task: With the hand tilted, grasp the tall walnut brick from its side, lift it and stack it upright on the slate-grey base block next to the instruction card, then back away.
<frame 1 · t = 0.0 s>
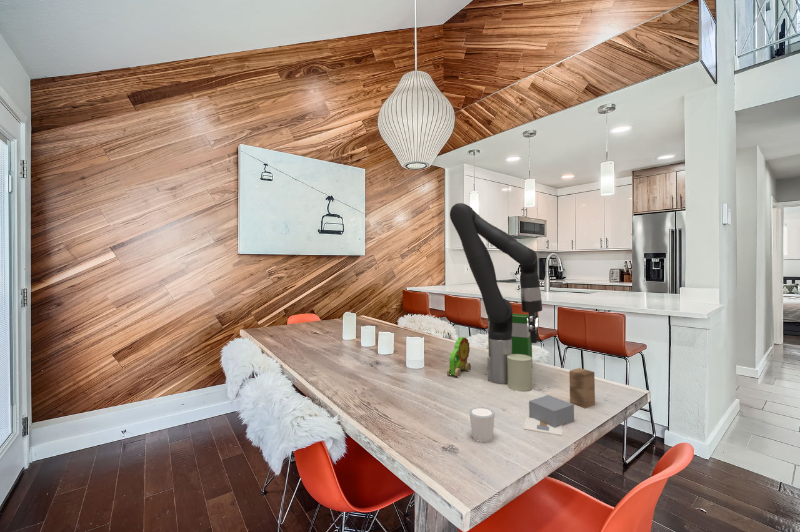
hand: (534, 340, 138), 17 cm above the table, tool pointing down, fingers open, 8 cm apart
can: (519, 387, 135), on the table
walnut brick: (582, 403, 118), on the table
shot glass: (482, 437, 98), on the table
toy lion: (460, 373, 155), on the table
instruction card: (543, 426, 103), on the table
green banded block: (510, 367, 161), on the table
base block: (551, 418, 108), on the table
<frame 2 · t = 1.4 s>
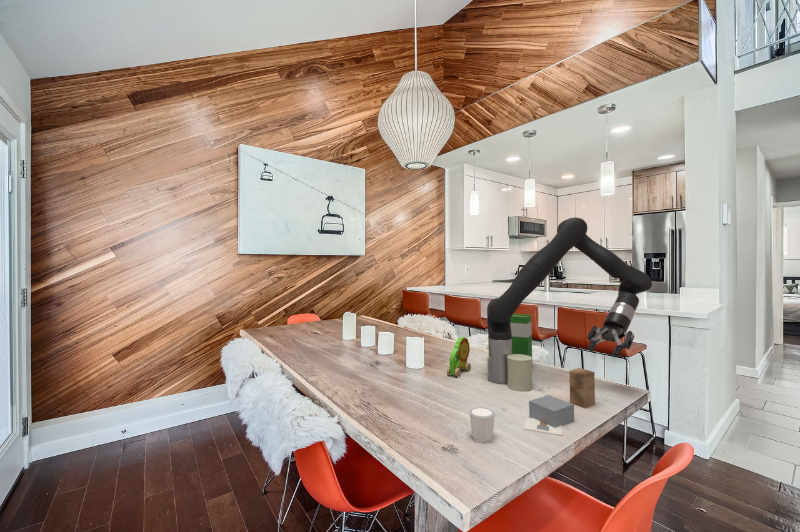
hand: (601, 353, 124), 15 cm above the table, tool tilted 45°, fingers open, 8 cm apart
nothing on the table moved.
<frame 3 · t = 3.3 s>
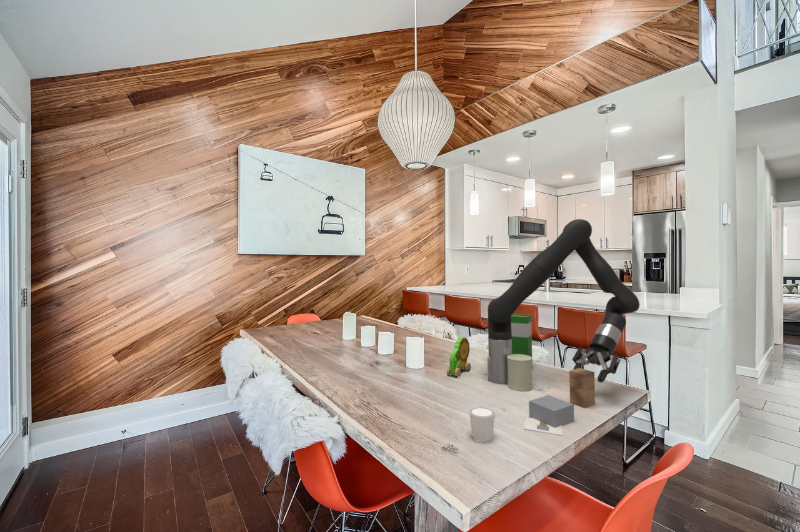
hand: (586, 377, 120), 8 cm above the table, tool tilted 45°, fingers open, 8 cm apart
nothing on the table moved.
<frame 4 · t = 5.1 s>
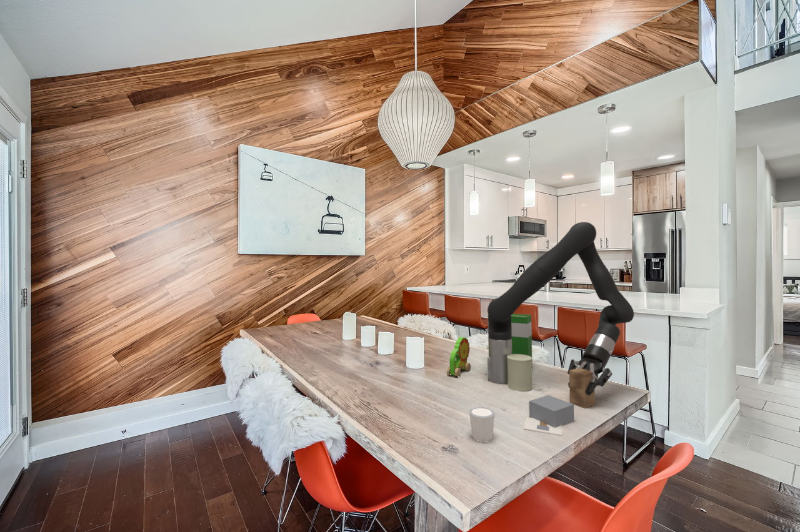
hand: (578, 390, 117), 5 cm above the table, tool tilted 45°, fingers closed on walnut brick, 5 cm apart
walnut brick: (582, 403, 118), on the table, touching gripper
everything else where it was.
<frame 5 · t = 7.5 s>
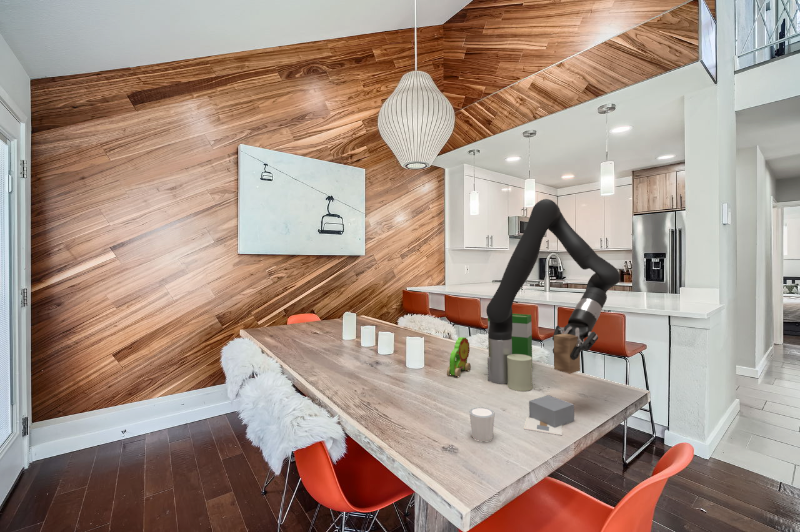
hand: (563, 356, 112), 18 cm above the table, tool tilted 45°, fingers closed on walnut brick, 5 cm apart
walnut brick: (567, 369, 113), point 13 cm above the table, touching gripper
everything else where it was.
when the fingers open (11 cm above the table, at t = 10.3 s): walnut brick drops 1 cm, resting on base block.
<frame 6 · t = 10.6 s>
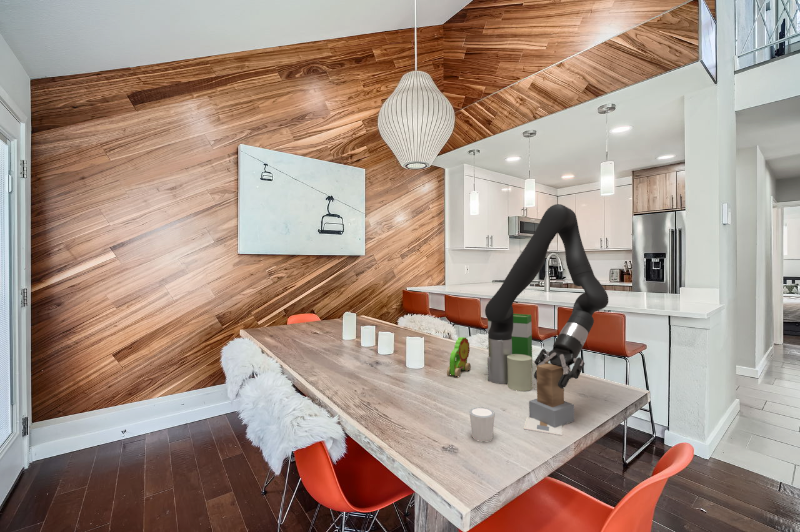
hand: (547, 382, 107), 11 cm above the table, tool tilted 45°, fingers open, 8 cm apart
walnut brick: (550, 402, 108), point 5 cm above the table, touching base block
everything else where it was.
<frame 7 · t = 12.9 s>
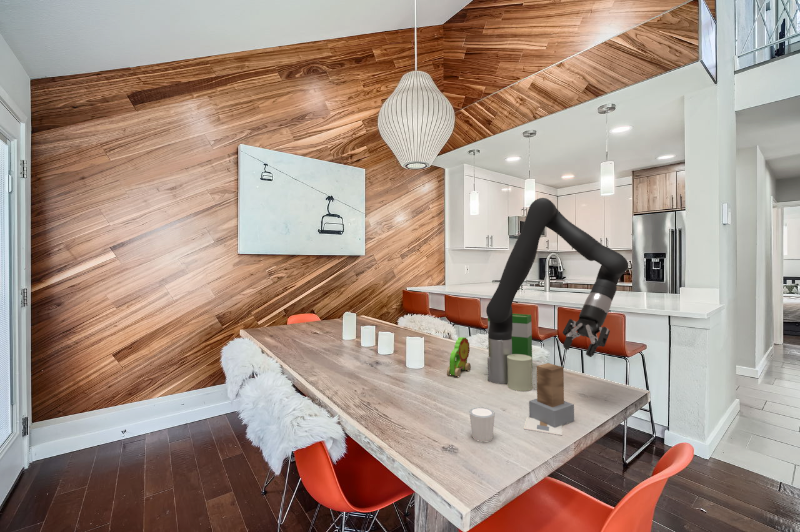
hand: (576, 352, 117), 18 cm above the table, tool tilted 30°, fingers open, 8 cm apart
nothing on the table moved.
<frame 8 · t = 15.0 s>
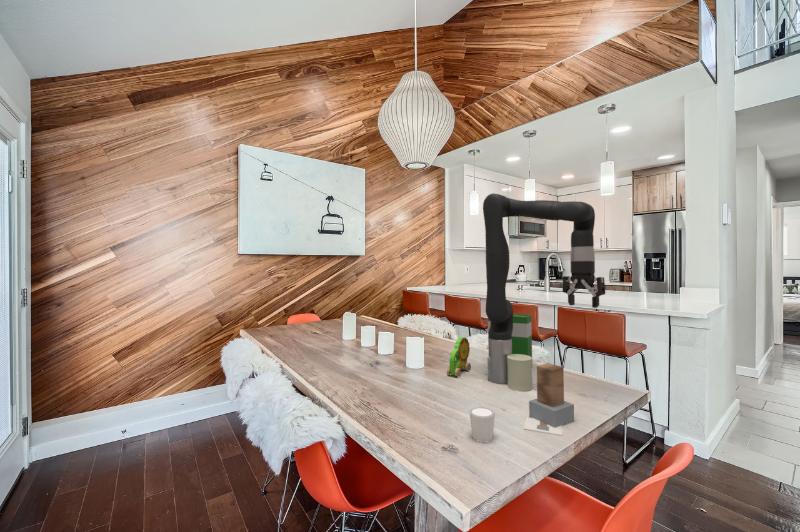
hand: (583, 306, 123), 32 cm above the table, tool pointing down, fingers open, 8 cm apart
nothing on the table moved.
at the end: walnut brick 0.3 cm off-centre on the base block, point 5.0 cm above the base block's base; walnut brick tilted 0°; the gripper is holding nothing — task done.
